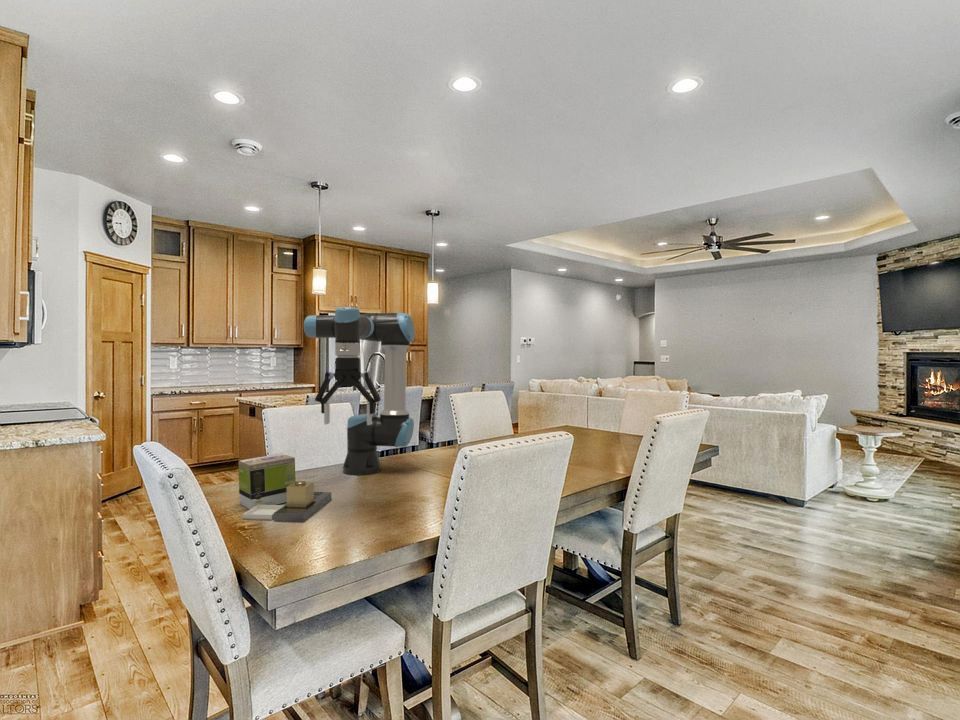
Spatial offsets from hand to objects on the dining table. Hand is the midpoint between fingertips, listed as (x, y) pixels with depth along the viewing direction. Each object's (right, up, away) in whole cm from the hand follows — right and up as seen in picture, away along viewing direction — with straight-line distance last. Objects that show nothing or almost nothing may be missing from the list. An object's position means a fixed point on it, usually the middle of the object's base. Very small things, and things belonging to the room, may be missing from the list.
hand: (348, 424), depth 164 cm
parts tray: (-24, -27, -5) cm, 37 cm away
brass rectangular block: (-14, -27, -3) cm, 31 cm away
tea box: (-28, -27, +7) cm, 40 cm away
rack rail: (-14, -27, 0) cm, 30 cm away
